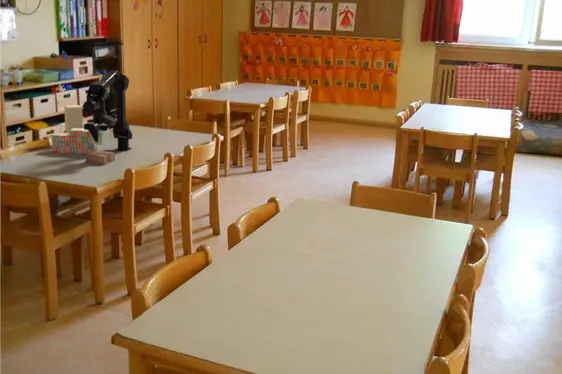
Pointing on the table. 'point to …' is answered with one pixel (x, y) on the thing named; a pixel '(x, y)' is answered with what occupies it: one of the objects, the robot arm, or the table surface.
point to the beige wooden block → (73, 117)
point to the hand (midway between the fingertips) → (99, 140)
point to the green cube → (101, 138)
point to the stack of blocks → (73, 142)
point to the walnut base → (100, 157)
